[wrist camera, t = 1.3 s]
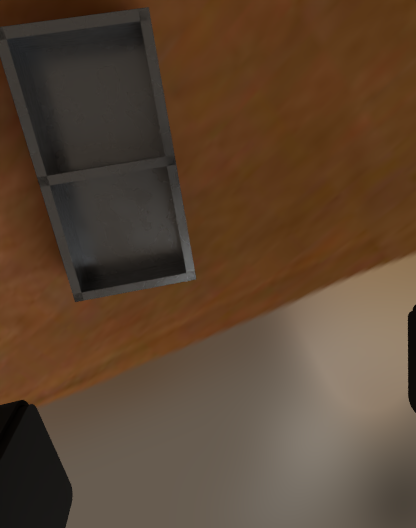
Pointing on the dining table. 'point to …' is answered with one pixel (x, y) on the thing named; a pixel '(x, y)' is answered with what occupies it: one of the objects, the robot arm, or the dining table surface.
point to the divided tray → (101, 148)
